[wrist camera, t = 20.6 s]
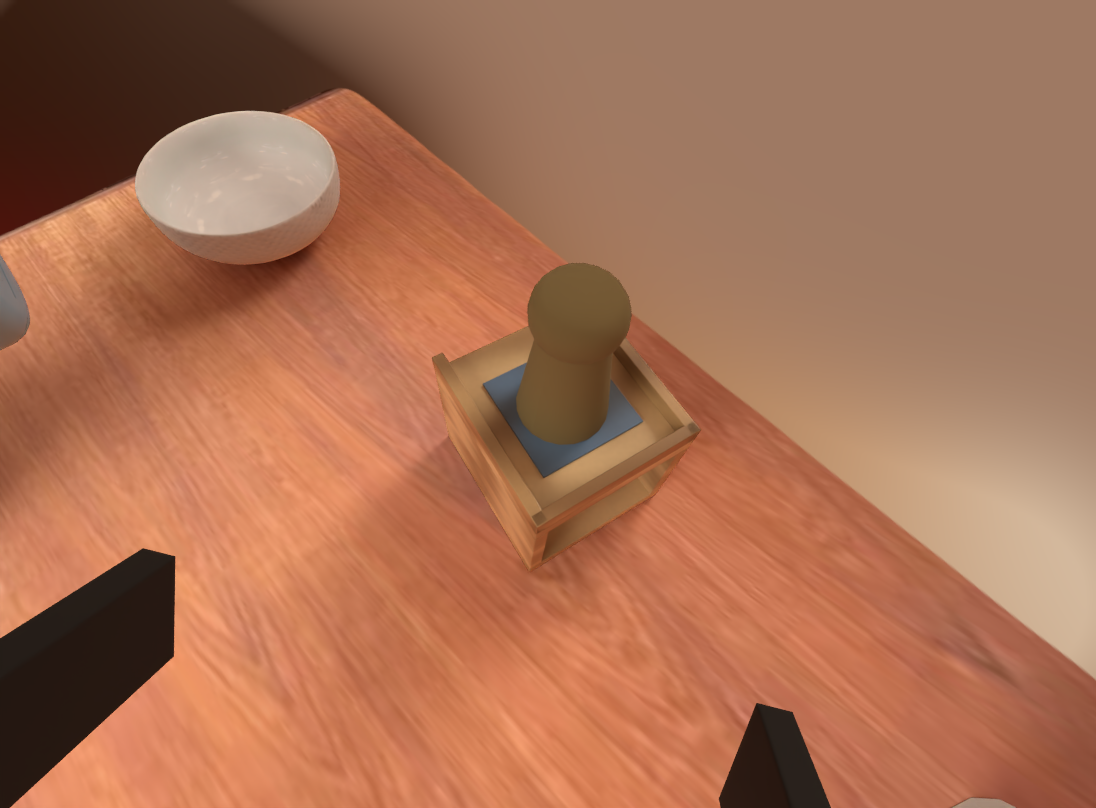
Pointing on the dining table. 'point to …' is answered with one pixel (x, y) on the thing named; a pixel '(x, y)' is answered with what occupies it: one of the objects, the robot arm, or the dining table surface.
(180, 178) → the cereal bowl
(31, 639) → the robot arm
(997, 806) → the french press
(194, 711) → the dining table surface
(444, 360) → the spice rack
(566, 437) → the olive pawn piece
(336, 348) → the dining table surface
